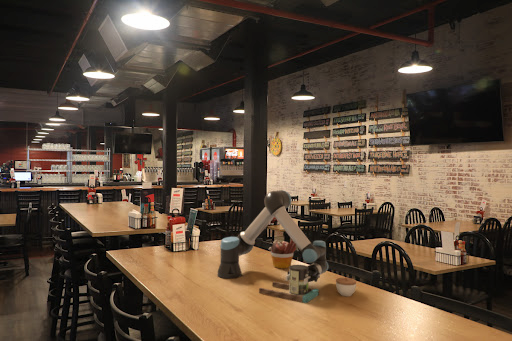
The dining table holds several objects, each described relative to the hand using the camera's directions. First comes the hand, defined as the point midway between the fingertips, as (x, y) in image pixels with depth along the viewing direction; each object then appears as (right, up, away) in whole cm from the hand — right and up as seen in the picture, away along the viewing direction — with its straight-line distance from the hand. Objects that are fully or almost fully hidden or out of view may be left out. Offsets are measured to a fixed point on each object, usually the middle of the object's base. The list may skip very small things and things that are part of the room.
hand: (295, 280), depth 206 cm
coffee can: (+2, -8, +4) cm, 9 cm away
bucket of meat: (-2, -9, +66) cm, 66 cm away
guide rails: (-3, -9, +7) cm, 12 cm away
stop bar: (+8, -10, 0) cm, 13 cm away
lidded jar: (+28, -10, +7) cm, 31 cm away
